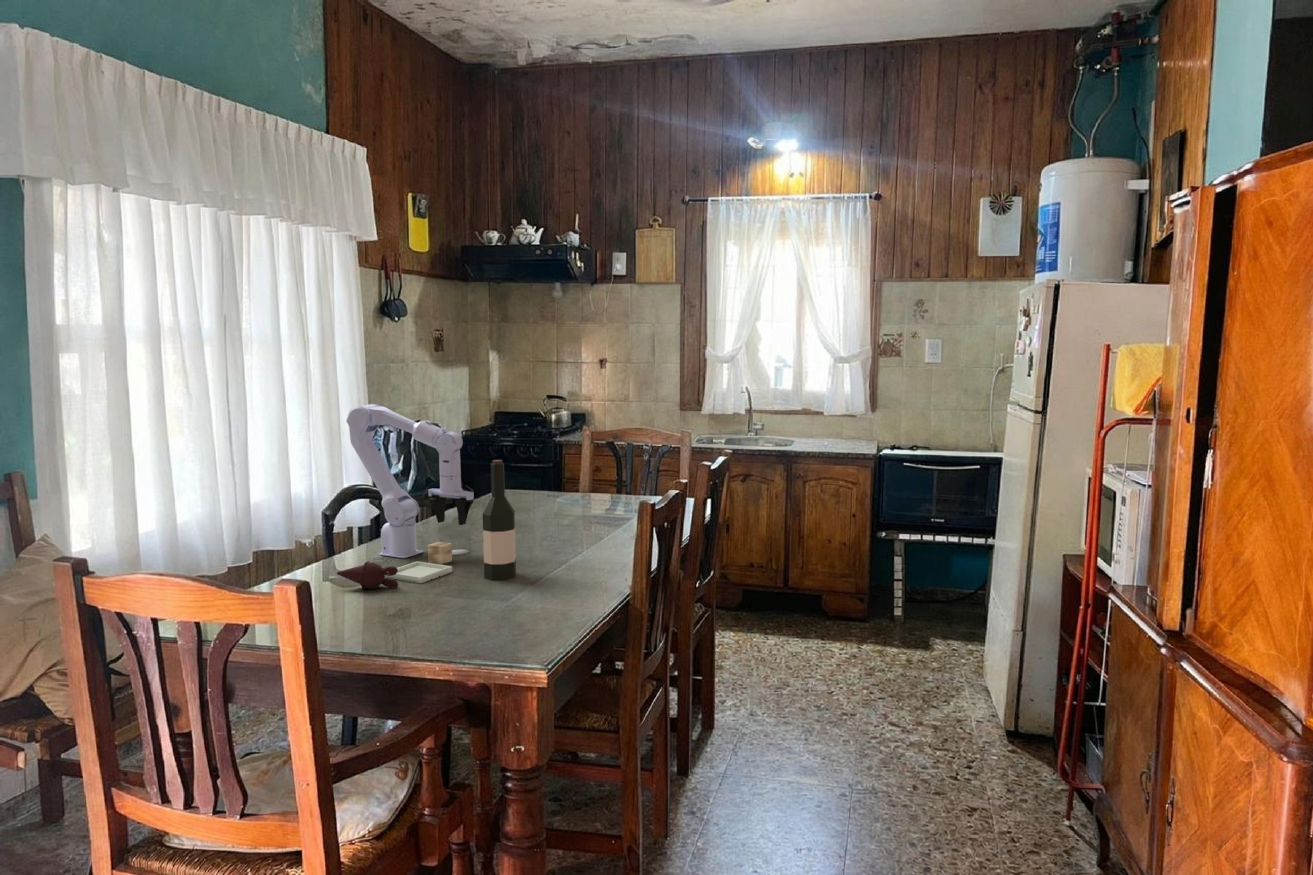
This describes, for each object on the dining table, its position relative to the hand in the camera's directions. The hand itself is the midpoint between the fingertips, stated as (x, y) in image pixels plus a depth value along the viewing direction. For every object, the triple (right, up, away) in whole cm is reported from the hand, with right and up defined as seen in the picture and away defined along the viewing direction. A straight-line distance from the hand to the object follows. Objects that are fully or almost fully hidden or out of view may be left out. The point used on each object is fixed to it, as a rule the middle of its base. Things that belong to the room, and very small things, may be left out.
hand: (451, 523), depth 241 cm
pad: (+1, -9, +4) cm, 10 cm away
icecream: (-13, -13, -30) cm, 36 cm away
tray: (-4, -12, -19) cm, 22 cm away
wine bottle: (+17, -12, -20) cm, 29 cm away
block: (-2, -10, -5) cm, 12 cm away
